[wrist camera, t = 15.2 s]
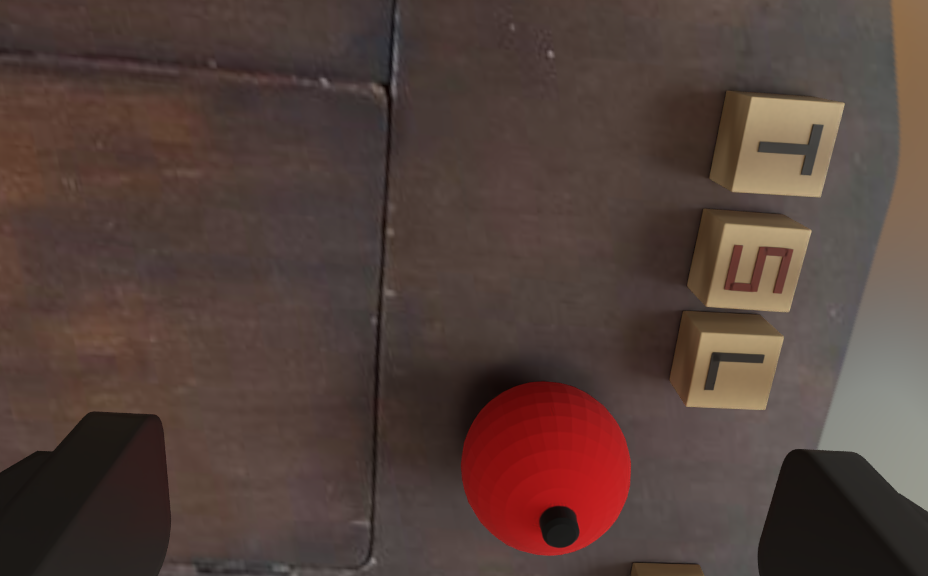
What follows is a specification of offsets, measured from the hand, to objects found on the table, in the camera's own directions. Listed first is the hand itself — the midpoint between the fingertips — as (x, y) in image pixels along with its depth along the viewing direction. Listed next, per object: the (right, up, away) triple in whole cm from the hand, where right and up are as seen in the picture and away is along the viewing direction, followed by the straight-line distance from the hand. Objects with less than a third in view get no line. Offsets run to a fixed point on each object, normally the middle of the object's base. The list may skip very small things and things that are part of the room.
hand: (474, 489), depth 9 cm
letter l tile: (+14, -1, +31) cm, 34 cm away
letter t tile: (+15, +10, +27) cm, 32 cm away
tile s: (+15, +5, +29) cm, 33 cm away
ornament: (+4, -5, +33) cm, 33 cm away
